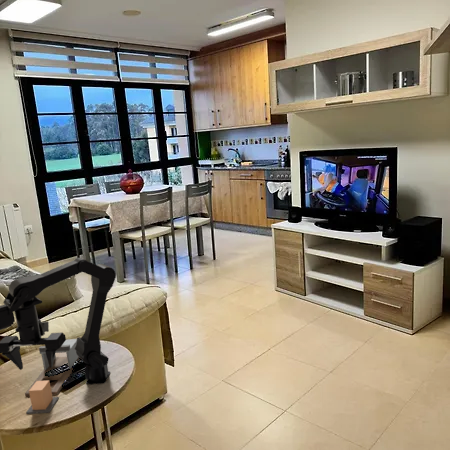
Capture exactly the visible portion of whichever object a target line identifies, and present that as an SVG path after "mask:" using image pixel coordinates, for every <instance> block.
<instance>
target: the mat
mask: <svg viewBox="0 0 450 450" xmlns="http://www.w3.org/2000/svg"><path fill="white" fill-rule="evenodd" d="M52 397H53V399H52V401H51V402H50V404H49V405H48V407H47V408H46V409H42V410H33V409H32V404H31V405H30V406H29V408H28V409H27V411H26V412H25V414H26V415H31V414H45V413H46V414H47V413H48V414H49V413H50V412H51V411H52V410H53V408H54V406H55V405H56V403H57V402H58V400H59V396H52Z"/></svg>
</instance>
